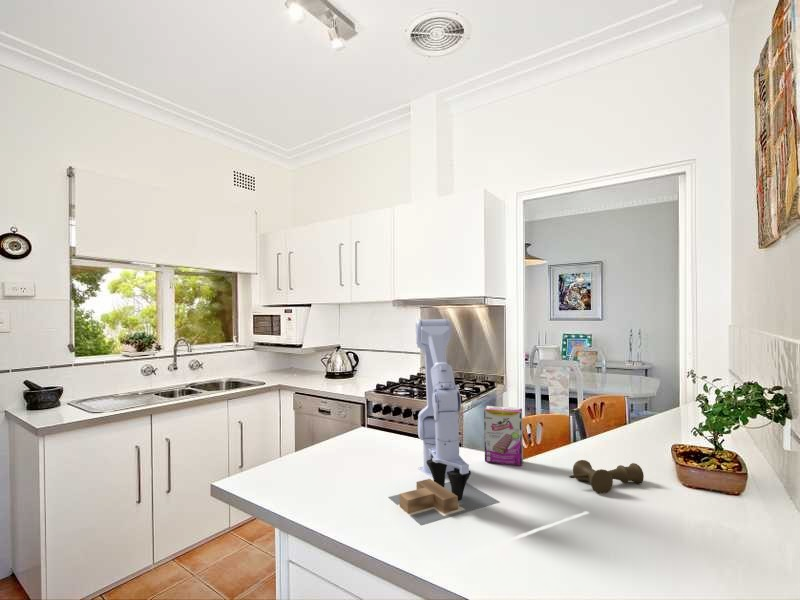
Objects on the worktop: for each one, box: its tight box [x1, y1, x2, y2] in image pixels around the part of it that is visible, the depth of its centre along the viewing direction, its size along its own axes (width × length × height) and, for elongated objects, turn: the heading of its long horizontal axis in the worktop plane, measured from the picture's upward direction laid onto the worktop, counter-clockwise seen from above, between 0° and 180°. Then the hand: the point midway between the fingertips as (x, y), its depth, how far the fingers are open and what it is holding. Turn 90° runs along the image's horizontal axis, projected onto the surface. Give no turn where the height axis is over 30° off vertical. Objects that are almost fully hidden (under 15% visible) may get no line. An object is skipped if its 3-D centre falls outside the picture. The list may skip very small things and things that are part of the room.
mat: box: [388, 481, 500, 526], centre depth 102 cm, size 22×16×1 cm
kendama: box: [568, 459, 645, 494], centre depth 111 cm, size 6×10×20 cm
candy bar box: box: [483, 405, 524, 467], centre depth 129 cm, size 11×5×16 cm, turn 71°
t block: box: [399, 478, 458, 515], centre depth 100 cm, size 11×12×3 cm
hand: (448, 494), depth 103 cm, fingers open, 7 cm apart
